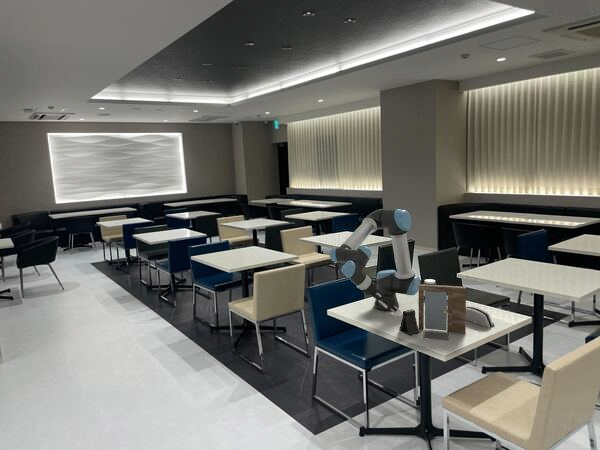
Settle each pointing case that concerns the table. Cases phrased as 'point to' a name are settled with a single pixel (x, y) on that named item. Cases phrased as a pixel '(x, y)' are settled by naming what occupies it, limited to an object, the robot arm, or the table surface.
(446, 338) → the mat
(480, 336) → the table surface
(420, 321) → the door frame
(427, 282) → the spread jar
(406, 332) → the phone stand
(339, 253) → the robot arm
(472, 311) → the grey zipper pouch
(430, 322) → the door
